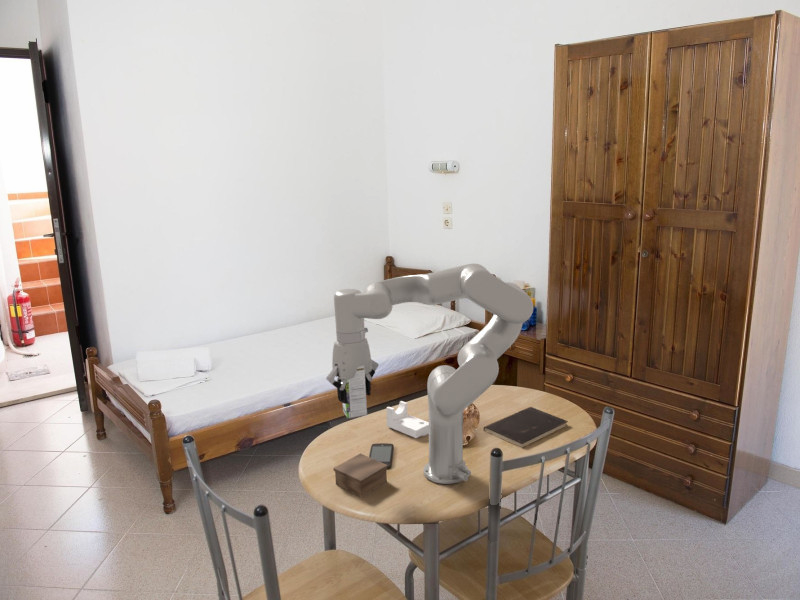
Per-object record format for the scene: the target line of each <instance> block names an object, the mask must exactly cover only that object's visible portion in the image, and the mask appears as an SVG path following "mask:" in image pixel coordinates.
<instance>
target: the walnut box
mask: <svg viewBox="0 0 800 600" xmlns="http://www.w3.org/2000/svg"><path fill="white" fill-rule="evenodd" d="M388 468H389V466H388V464H386V463H384V462H382V461H379V460H377V459H375V458H372V457H369V456H367V455H365V454H363V453H359V454H357V455H355V456H352V457H351V458H349V459H348V460H346V461H344V462H342V463H340V464H339V465H336V466H335V467H333V471H334V473H335V477H334V478H335V485H337V486H339V487H341V488H343V489H345V490H347V491H349V492H351V493H353V494H356V495H358V496H360V497H363V496H364V497H365V495H367V494H369V493H370V492H371V491H374V490H375V489H376V488H379V487H380V486H382V485H383V484H384V483H386V482H387V480H388V479H387V470H388Z"/></svg>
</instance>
